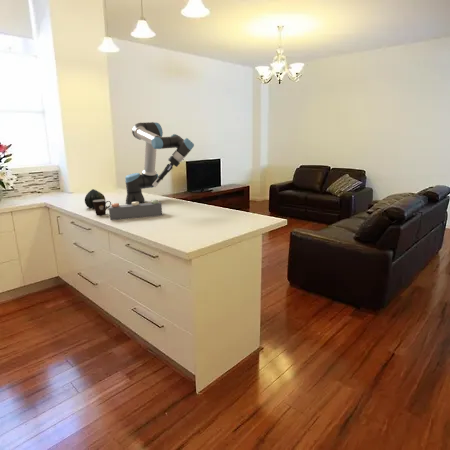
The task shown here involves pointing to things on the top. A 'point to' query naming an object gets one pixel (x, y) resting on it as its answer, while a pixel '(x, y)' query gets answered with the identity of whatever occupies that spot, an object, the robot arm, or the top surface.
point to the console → (135, 211)
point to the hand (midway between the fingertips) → (153, 185)
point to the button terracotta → (115, 205)
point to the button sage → (154, 201)
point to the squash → (93, 198)
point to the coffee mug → (100, 206)
